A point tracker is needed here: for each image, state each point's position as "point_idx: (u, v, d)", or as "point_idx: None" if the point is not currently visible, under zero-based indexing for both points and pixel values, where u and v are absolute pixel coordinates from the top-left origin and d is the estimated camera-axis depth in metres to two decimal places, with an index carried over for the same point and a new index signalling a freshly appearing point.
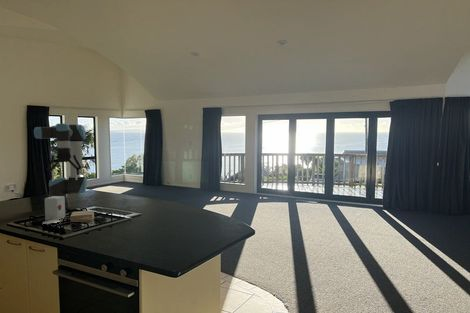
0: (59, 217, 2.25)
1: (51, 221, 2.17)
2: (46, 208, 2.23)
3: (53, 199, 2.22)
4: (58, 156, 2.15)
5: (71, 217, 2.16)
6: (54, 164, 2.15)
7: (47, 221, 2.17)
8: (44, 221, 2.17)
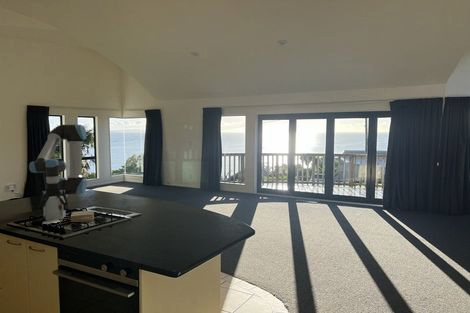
0: (59, 217, 2.25)
1: (51, 221, 2.17)
2: (46, 208, 2.23)
3: (53, 199, 2.22)
4: (47, 191, 2.22)
5: (71, 217, 2.16)
6: (45, 200, 2.22)
7: (47, 221, 2.17)
8: (44, 221, 2.17)
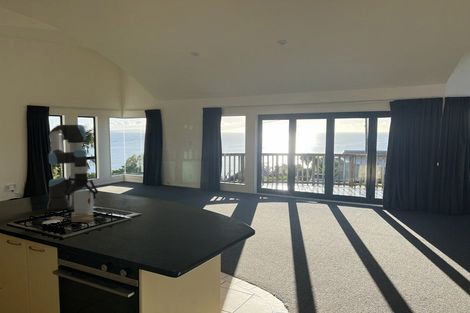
0: (88, 211, 2.23)
1: (51, 221, 2.17)
2: (75, 202, 2.21)
3: (83, 192, 2.20)
4: (76, 181, 2.21)
5: (72, 217, 2.16)
6: (72, 189, 2.20)
7: (47, 221, 2.17)
8: (44, 221, 2.17)
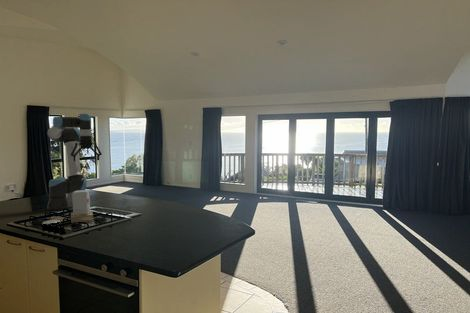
0: (88, 211, 2.22)
1: (51, 221, 2.17)
2: (74, 202, 2.18)
3: (82, 193, 2.19)
4: (81, 143, 2.38)
5: (72, 218, 2.15)
6: (77, 150, 2.37)
7: (47, 221, 2.17)
8: (44, 221, 2.17)
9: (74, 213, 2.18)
